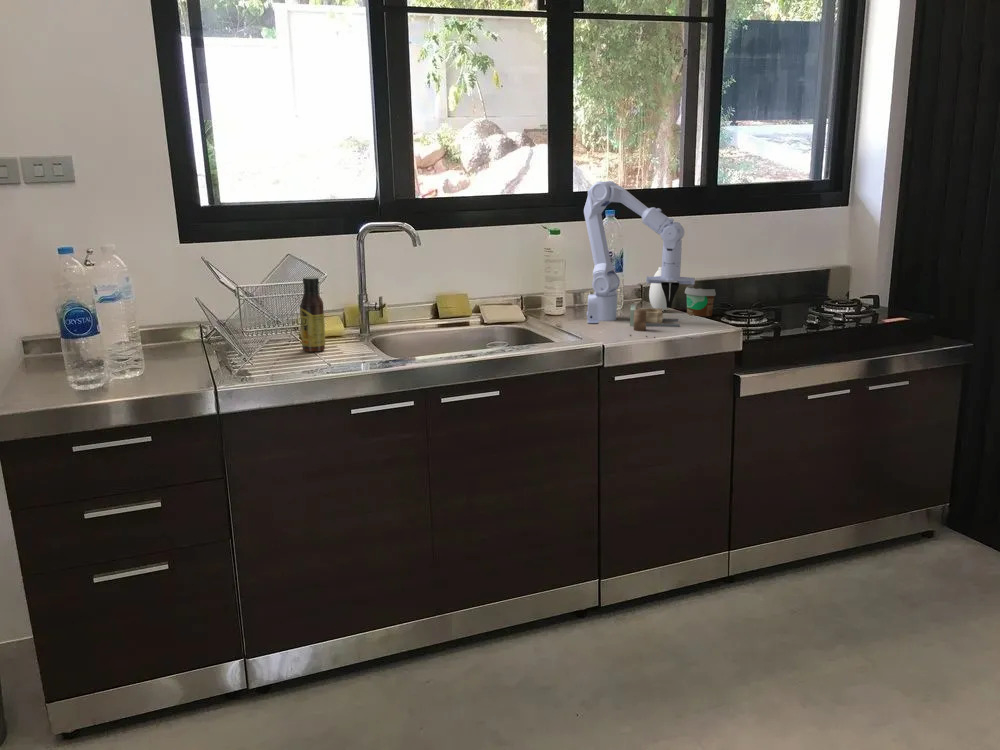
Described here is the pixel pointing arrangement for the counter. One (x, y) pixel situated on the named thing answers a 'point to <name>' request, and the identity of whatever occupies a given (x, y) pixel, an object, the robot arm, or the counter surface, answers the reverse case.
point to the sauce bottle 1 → (312, 317)
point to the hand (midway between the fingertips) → (668, 307)
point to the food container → (699, 301)
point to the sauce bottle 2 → (658, 294)
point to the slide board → (652, 323)
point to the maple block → (653, 315)
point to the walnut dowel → (640, 320)
